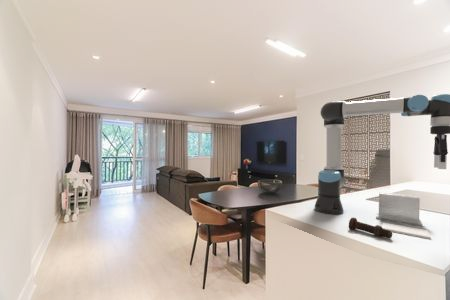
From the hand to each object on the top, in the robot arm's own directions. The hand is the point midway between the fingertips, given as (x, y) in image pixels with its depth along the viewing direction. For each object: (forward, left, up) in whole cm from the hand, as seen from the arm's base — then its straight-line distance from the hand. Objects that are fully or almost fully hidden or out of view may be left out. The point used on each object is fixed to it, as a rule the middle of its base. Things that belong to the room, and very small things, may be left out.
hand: (439, 168), depth 110 cm
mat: (-14, -26, -27) cm, 41 cm away
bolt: (-26, -41, -28) cm, 56 cm away
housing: (-16, -8, -27) cm, 33 cm away
